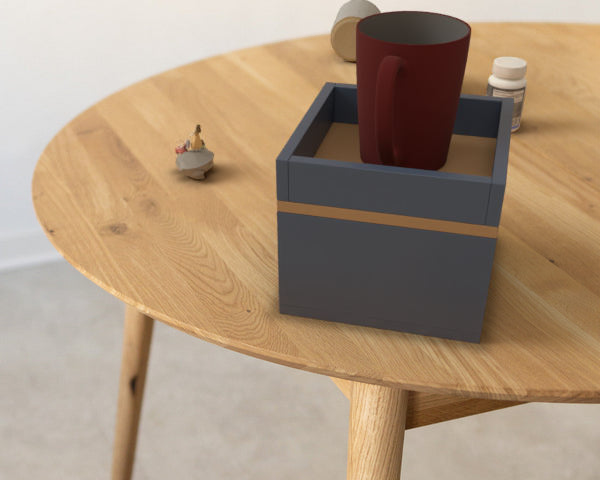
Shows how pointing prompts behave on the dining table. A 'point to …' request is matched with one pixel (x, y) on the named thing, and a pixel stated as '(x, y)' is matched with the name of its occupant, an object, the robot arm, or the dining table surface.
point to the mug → (409, 86)
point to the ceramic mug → (349, 27)
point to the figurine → (194, 156)
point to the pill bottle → (509, 84)
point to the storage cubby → (390, 222)
